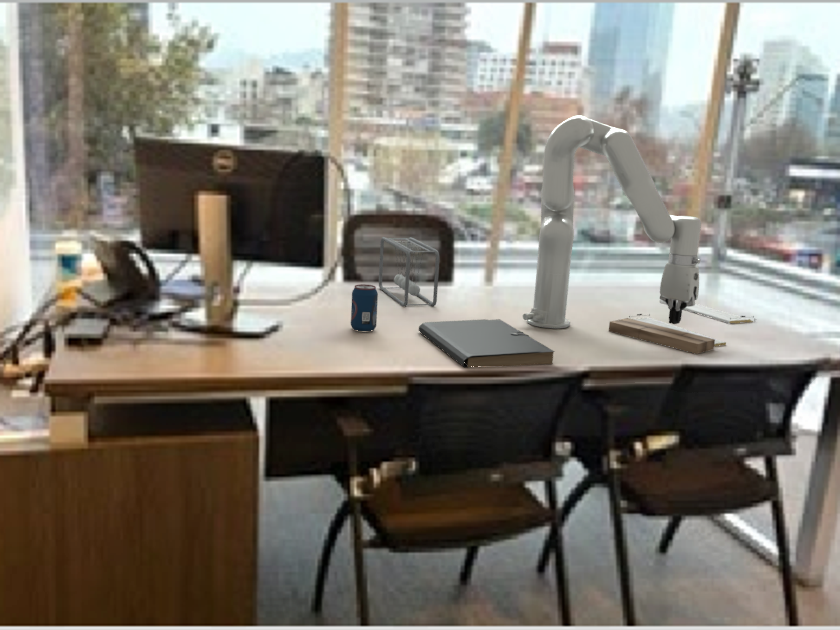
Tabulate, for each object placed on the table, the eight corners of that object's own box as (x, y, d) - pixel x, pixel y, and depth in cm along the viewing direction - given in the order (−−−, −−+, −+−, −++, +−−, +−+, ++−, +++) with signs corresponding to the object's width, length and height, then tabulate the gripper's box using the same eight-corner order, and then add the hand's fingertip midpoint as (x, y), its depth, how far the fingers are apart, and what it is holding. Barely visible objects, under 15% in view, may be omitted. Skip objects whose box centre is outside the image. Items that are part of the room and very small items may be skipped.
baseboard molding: (685, 302, 297) (659, 304, 291) (686, 294, 296) (660, 296, 290) (756, 323, 270) (729, 325, 264) (757, 314, 269) (730, 316, 264)
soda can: (349, 326, 234) (350, 283, 231) (374, 326, 235) (375, 284, 233) (352, 332, 227) (354, 288, 225) (378, 333, 229) (380, 289, 226)
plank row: (696, 354, 226) (697, 343, 225) (608, 331, 246) (609, 321, 245) (713, 349, 232) (715, 339, 231) (626, 327, 252) (627, 317, 251)
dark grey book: (555, 349, 208) (463, 355, 201) (554, 366, 209) (463, 371, 202) (500, 317, 239) (419, 321, 231) (499, 332, 240) (418, 336, 232)
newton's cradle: (378, 288, 288) (380, 235, 283) (407, 287, 291) (410, 236, 287) (404, 308, 260) (407, 250, 256) (436, 307, 263) (440, 251, 259)
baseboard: (699, 350, 233) (725, 347, 238) (701, 340, 232) (726, 337, 237) (624, 324, 259) (649, 321, 263) (625, 314, 258) (650, 313, 263)
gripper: (713, 263, 238) (704, 327, 242) (666, 255, 248) (658, 316, 252) (699, 265, 233) (690, 330, 237) (652, 256, 243) (644, 319, 247)
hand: (674, 323), depth 245 cm, fingers closed
